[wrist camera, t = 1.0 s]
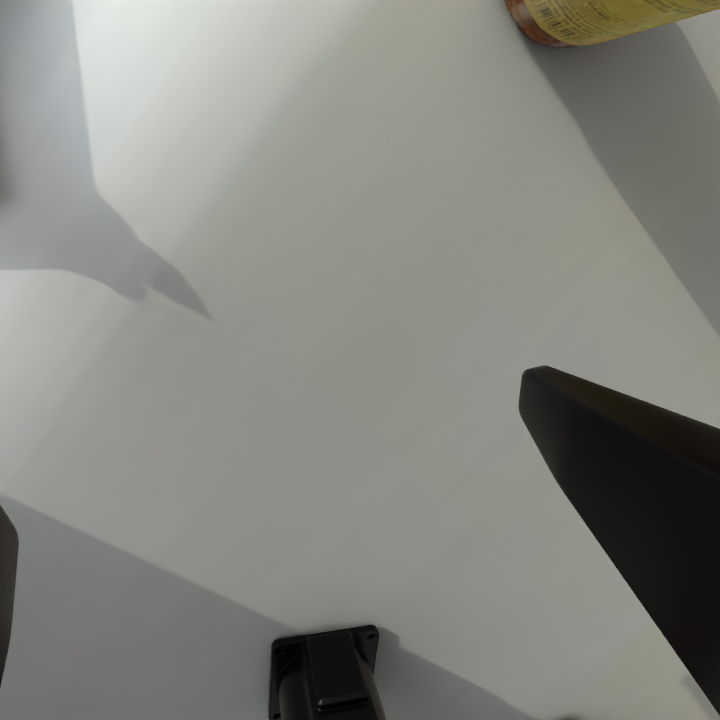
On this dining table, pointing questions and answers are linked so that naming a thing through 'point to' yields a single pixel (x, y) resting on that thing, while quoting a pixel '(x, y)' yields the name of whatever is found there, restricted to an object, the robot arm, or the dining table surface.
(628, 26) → the sauce bottle
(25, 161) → the dining table surface
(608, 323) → the dining table surface
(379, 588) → the dining table surface
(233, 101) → the dining table surface
